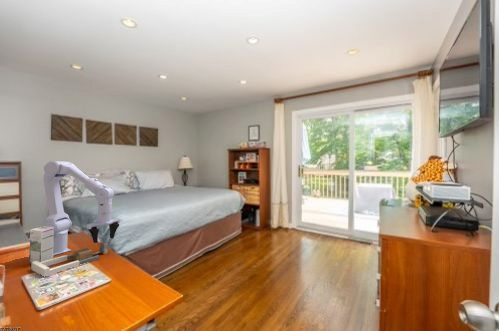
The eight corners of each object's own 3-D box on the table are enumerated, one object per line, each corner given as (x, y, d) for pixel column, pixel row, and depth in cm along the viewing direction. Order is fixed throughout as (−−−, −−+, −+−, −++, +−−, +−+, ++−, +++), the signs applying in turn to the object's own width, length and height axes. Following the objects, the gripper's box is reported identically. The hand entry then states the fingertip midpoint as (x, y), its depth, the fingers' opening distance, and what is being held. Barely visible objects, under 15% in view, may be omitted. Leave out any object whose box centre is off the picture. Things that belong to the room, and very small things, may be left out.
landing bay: (65, 259, 100) (65, 256, 100) (85, 253, 107) (85, 250, 107) (79, 265, 94) (79, 262, 94) (99, 259, 101) (99, 255, 101)
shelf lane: (31, 269, 90) (31, 262, 90) (65, 259, 100) (65, 252, 100) (44, 277, 84) (44, 269, 84) (79, 265, 94) (79, 258, 94)
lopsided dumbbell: (72, 259, 100) (73, 248, 100) (101, 250, 111) (102, 240, 111) (79, 263, 97) (79, 251, 97) (108, 253, 108) (109, 243, 108)
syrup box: (53, 258, 101) (54, 226, 101) (40, 264, 95) (41, 230, 95) (42, 257, 101) (43, 225, 101) (28, 263, 95) (29, 229, 95)
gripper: (93, 216, 100) (91, 246, 100) (124, 211, 113) (123, 237, 113) (84, 214, 104) (83, 243, 104) (115, 209, 116) (115, 235, 116)
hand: (103, 240), depth 109 cm, fingers open, 7 cm apart
